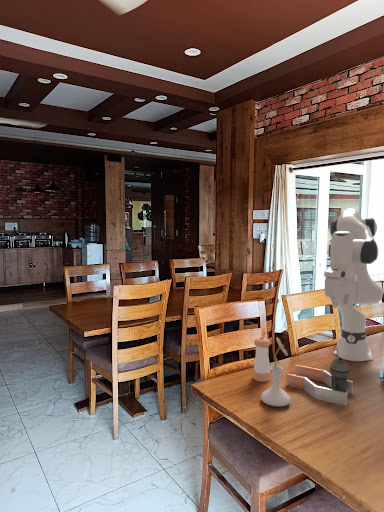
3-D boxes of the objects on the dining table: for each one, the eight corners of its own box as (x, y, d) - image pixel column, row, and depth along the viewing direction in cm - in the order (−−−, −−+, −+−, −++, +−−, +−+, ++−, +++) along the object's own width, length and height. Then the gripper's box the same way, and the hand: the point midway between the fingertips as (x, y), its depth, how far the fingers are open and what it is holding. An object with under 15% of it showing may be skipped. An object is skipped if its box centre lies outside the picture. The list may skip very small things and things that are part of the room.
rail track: (295, 375, 175) (295, 364, 174) (354, 387, 161) (355, 376, 161) (281, 390, 159) (282, 379, 158) (346, 406, 145) (347, 393, 145)
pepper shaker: (263, 383, 166) (263, 340, 164) (250, 378, 171) (250, 336, 170) (273, 378, 171) (273, 336, 169) (260, 373, 176) (260, 333, 175)
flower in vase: (289, 411, 141) (290, 346, 139) (258, 406, 145) (259, 342, 143) (292, 396, 153) (293, 335, 151) (264, 392, 157) (264, 333, 155)
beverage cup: (350, 401, 149) (351, 351, 147) (330, 400, 150) (331, 350, 148) (346, 393, 156) (348, 345, 154) (327, 392, 157) (329, 344, 155)
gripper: (344, 269, 162) (343, 301, 163) (322, 272, 148) (321, 308, 149) (359, 270, 158) (358, 303, 159) (337, 274, 144) (336, 310, 144)
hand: (340, 305), depth 154 cm, fingers open, 8 cm apart
